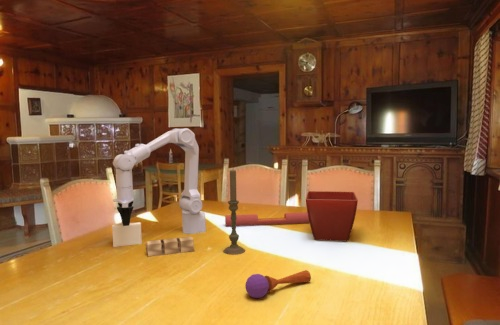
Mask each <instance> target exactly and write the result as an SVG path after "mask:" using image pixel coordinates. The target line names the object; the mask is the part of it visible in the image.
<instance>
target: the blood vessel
mask: <svg viewBox="0 0 500 325" xmlns="http://www.w3.org/2000/svg"><path fill="white" fill-rule="evenodd" d="M224 216H225V217H224V218H225V220H224V222H225V224H224V225H225V227H231V226H232V222H231V221H232V220H231V214H230V215H229V214H226V215H224ZM258 216H259V215H258V214H257V213H254V214H236V217H237V219H236V227H245V226H246V227H247V226H269V225H270V226H273V225H294V224H296V225H297V224H298V225H299V224H310V222H309V217H308V212H287V213H286V212H285V213H284V215H283V217H271V218H270V217H267V218H259V217H258Z"/></svg>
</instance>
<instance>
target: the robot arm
mask: <svg viewBox="0 0 500 325" xmlns="http://www.w3.org/2000/svg"><path fill="white" fill-rule="evenodd" d="M171 143H172V144H174V145H176V146H178V147H180V148H181V149H182V150H183V151H184V152H185V153H184V154H185V155H184V157H185V158H184V160H185V161H184V184H183V186H184V187H183V188H184V189H183V191H181V194H180V195H181V196H180V199H179V202H178V205H179V206H178V207H179V208H180V209H181V216H182V217H181V218H182V221H181V223H182V233H183V234H186V235H192V234H198V233H199V234H200V233H206V232H207V230H206V229H207V226H206V225H207V224H206V214H205V212H204V211H202V209H203V202H202V199H201V198H202V196H201V193H200V192H199V190H198V184H199V181H198V180H199V179H198V178H199V152H200V148H199V145H198V142H197V140H196V135H195V133H194V132H193V131H192V130H191V129H189V128H187V127H185V128H172V129H171V130H169V131H166V132H165V133H162V135H159V136H157V138H154V139H153V140H151V141H150V142H148V143H147V144H144V143H135V145H134V147H132V148H131V149H128V150H124V151H123V153H124V154H122V153H121V154H117V155H116V156H114V157H115V158H114V159H113V161H112V165H113V167H114V168H115V190H116V198H114V199H113V202H116V203H117V205H118V206H116V210H117V211H118V213H119V216H120V219H121V224H123V226H129V224H130V223H131V216H132V212H133V209H134V208H135V207H134V206H133V203H134V200H135V198H134V189H133V188H134V186H133V184H134V183H133V171H132V170H133V168H134V166H135V165H137V164H139V163H141V162H142V161H144V160H147V158H150V156H151V152H153V151H155V150H157V149H159V148H161V147H164V146H165V145H168V144H171Z"/></svg>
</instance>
